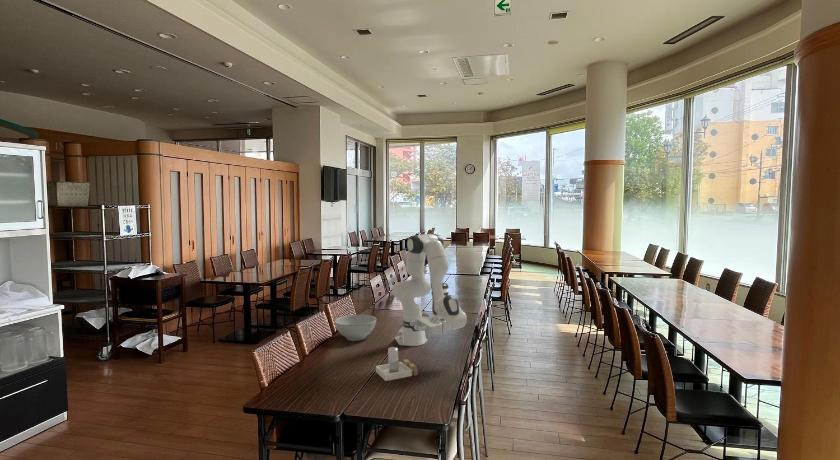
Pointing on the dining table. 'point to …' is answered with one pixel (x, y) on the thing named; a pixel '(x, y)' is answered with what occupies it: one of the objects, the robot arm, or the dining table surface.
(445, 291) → the coffee press
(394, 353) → the steel canister
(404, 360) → the tan wavy block
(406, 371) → the tray
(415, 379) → the dining table surface
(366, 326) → the decorative bowl
